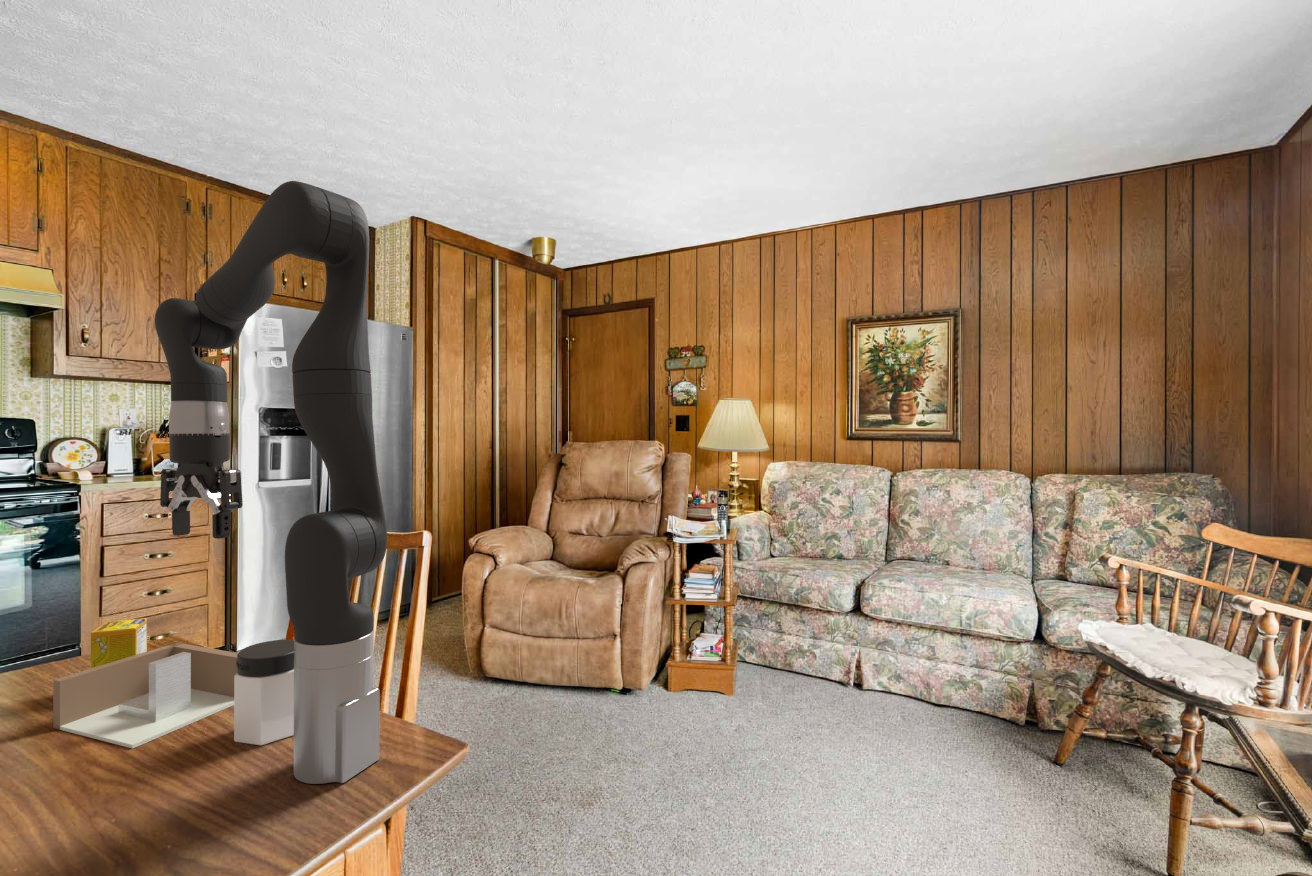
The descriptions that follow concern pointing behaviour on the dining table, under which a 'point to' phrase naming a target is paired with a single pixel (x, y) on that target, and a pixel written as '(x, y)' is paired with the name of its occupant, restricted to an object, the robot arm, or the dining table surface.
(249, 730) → the jar
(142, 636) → the supplement box
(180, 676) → the bracket
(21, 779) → the dining table surface
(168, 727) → the tray
